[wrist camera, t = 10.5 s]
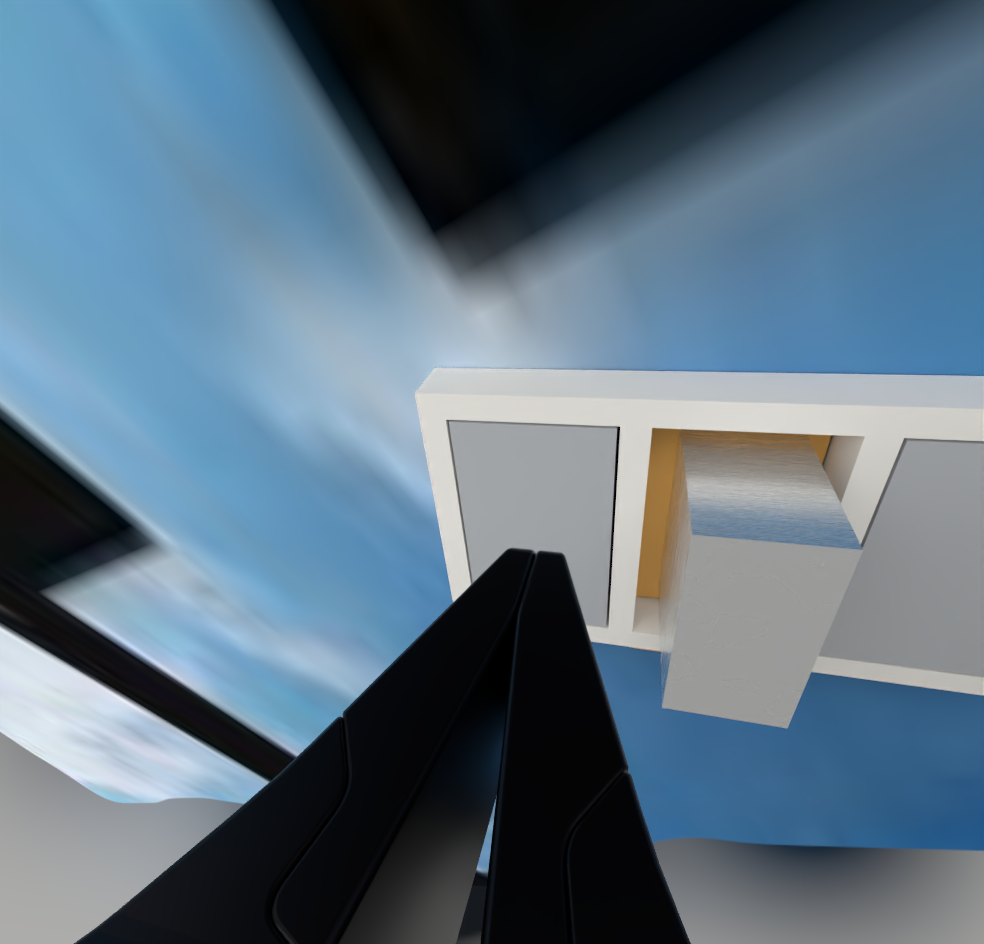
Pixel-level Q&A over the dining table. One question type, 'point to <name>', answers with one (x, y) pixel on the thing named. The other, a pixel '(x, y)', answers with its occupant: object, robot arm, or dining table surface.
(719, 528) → the grey block
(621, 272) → the dining table surface
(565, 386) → the rack
